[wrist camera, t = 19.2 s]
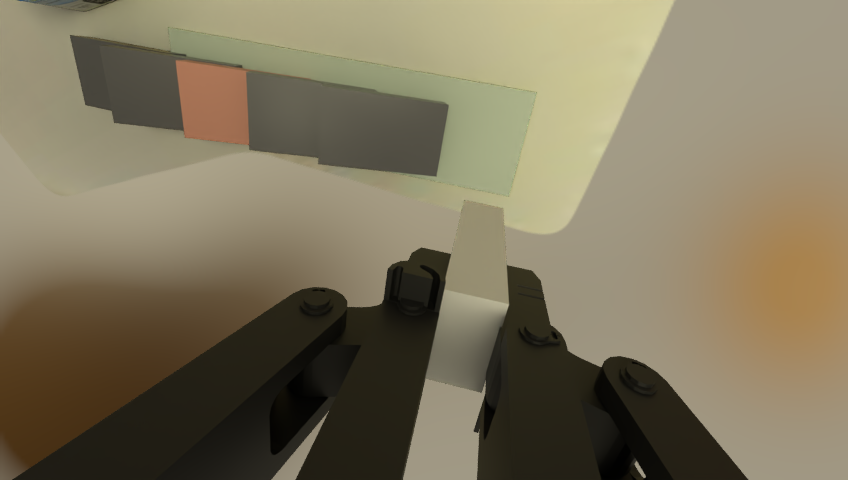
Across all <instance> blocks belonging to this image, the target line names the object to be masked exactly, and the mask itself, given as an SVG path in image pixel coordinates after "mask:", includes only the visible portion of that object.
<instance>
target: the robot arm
mask: <svg viewBox="0 0 848 480" xmlns="http://www.w3.org/2000/svg"><path fill="white" fill-rule="evenodd" d="M542 291H543V290H542V285H541V281H540V279H538V277H537V276H536V275H535V274H534V273H533V271H531V270H526V269H522V268H517V267H512V266H508V265H507V263H506V246H505V230H504V214H503V208H500V207H495V206H490V205H485V204H480V203H476V202H471V201H466V200H464V204H463V208H462V212H461V217H460V220H459V225H458V229H457V233H456V237H455V241H454V245H453V249H452V253H451V254H448V253H444V252H439V251H435V250H430V249H426V248H420V249H418V250H416V251H415V252H413V253H412V254H411V256H410V258H409V260H408V261H400V262H397V263H395V264H392V265H391V266H390V267H389V268H388V271H387V279H386V286H385V294H384V300H383V302H382V304H380V305H377V306H372V307H362V308H361V307H347V300H346V299H345V298H344V296H343V295H342V294H340V293H338V292H337V291H335V290H331V289H328V288H319V287H318V288H317V287H313V288H307V289H302V290H300V291H298V292H295V293H293V294H292V295H290V296H289V297H287V298H286V299H284V300H283V301H281V302H280V303H278V304H277V305H275V306H274V307H272V308H270V309H269V310H268V311H266V312H264V313H263V314H261V315H260V316H258V317H257V318H255V319H254V320H252V321H251V322H249V323H248V324H246V325H245V326H243V327H242V328H241V329H239V330H237V331H236V332H234V333H233V334H231V335H230V336H228V337H227V338H225V339H224V340H222V341H221V342H219V343H218V344H216V345H215V346H213V347H212V348H210V349H209V350H207V351H206V352H204V353H203V354H201V355H200V356H198V357H197V358H195V359H194V360H192V361H191V362H189V363H188V364H186V365H185V366H183V367H182V368H180V369H179V370H177V371H176V372H174V373H173V374H171V375H170V376H168V377H166V378H165V379H164V380H162V381H160V382H159V383H157V384H156V385H154V386H153V387H152V388H150V389H148V390H147V391H145V392H144V393H143V394H141V395H139V396H138V397H136V398H135V399H133V400H132V401H131V402H129V403H127V404H126V405H124V406H123V407H121V408H120V409H118V410H117V411H115V412H114V413H112V414H111V415H109V416H108V417H106V418H105V419H103V420H102V421H100V422H99V423H97V424H96V425H94V426H93V427H91V428H90V429H88V430H87V431H85V432H84V433H82V434H81V435H79V436H78V437H76V438H75V439H73V440H72V441H70V442H69V443H67V444H66V445H64V446H63V447H61V448H60V449H58V450H57V451H55V452H54V453H52V454H50V455H49V456H47V457H46V458H44V459H43V460H41V461H40V462H38V463H37V464H35V465H34V466H32V467H31V468H29V469H28V470H26V471H25V472H23V473H22V474H20V475H19V476H17V477H16V478H14V479H13V480H271V479H272V478H273V477H274V476H275V474H276V473H277V472H278V471H279V470H280V468H281V467H282V466H283V465H284V464H285V462H286V461H287V460H288V459H289V458H290V456H291V455H292V454H293V453H294V452H295V451H296V449H297V448H298V447H299V446H300V445H301V443H302V442H303V441H304V440H305V438H306V437H307V436H308V435H309V434H310V433H311V432H312V430H313V429H314V428H315V427H316V425H317V424H318V423H319V422H320V421H321V420H322V418H323V417H324V416H325V415H326V414H327V412H328V411H329V412H328V414H327V416H326V419H325V421H324V423H323V425H322V427H321V429H320V431H319V433H318V435H317V437H316V439H315V441H314V443H313V445H312V447H311V449H310V452H309V454H308V455H307V458H306V459H305V462H304V464H303V466H302V468H301V470H300V472H299V474H298V476H297V478H296V480H403V476H404V471H405V467H406V463H407V458H408V454H409V449H410V445H411V440H412V436H413V432H414V427H415V422H416V418H417V414H418V409H419V405H420V400H421V396H422V391H423V387H424V382H425V379H429V380H434V381H438V382H441V383H445V384H450V385H453V386H457V387H461V388H465V389H469V390H473V391H477V392H482V390H483V387H484V383H485V380H486V391H485V397H484V400H483V403H482V407H481V409H480V412H479V416H478V419H477V422H476V425H475V429H474V432H477V433H478V431H479V430H480V431H479V451H478V472H477V480H748V479H747V478H746V476H745V475H744V474H743V473H742V472H741V470H740V469H739V468H738V467H737V466H736V464H735V463H734V462H733V461H732V460H731V458H730V457H729V456H728V455H727V453H726V452H725V451H724V450H723V449H722V447H721V446H720V445H719V444H718V443H717V441H716V440H715V439H714V438H713V437H712V435H711V434H710V433H709V432H708V431H707V429H706V428H705V427H704V426H703V425H702V423H701V422H700V421H699V420H698V418H697V417H696V416H695V415H694V414H693V413H692V411H691V410H690V409H689V408H688V406H687V405H686V404H685V403H684V402H683V400H682V399H681V398H680V397H679V396H678V394H677V393H676V392H675V391H674V390H673V388H672V387H671V386H670V385H669V384H668V382H667V381H666V380H665V379H663V377H661V376H660V375H659V374H658V373H657V372H656V371H654V370H653V369H651V368H650V367H648V366H647V365H645V364H643V363H641V362H638V361H636V360H634V359H630V358H626V357H621V356H617V357H610V358H608V359H607V360H606V361H604V363H603V365H602V367H599V366H597V365H594V364H592V363H590V362H588V361H585V360H583V359H581V358H579V357H577V356H575V355H574V354H572V353H570V352H569V351H568V350H567V346H566V342H565V340H564V338H563V336H562V334H561V333H560V332H558V331H557V330H556V329H555V328H554V327H553V326H551V325H550V321H549V317H548V313H547V308H546V304H545V300H544V294H543V292H542ZM636 461H637V462H638V463H639V465H640V467H641V468H642V470H643V472H644V474H645V475H646V478H643V477H642V476H641V474H640V473H639V472H638V470H637V468H636V467H635V465H634V464H635V462H636Z"/></svg>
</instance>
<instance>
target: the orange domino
mask: <svg viewBox="0 0 848 480" xmlns="http://www.w3.org/2000/svg"><path fill="white" fill-rule="evenodd" d="M176 68H177V76H178V85H179V93H180V101H181V110H182V118H183V127H184V135H185V138H194V139H202V140H211V141H220V142H228V143H237V144H246V145H249V127H248V104H247V82H246V72H248V71H257V70H250V69H243V68H237V67H230V66H224V65H217V64H211V63H204V62H198V61H191V60H176ZM258 72H263V71H258ZM265 73H270V72H265ZM271 74H276V73H271ZM278 75H283V74H278ZM284 76H289V75H284ZM291 77H296V76H291ZM297 78H302V77H297ZM304 79H309V78H304ZM310 80H311V79H310Z"/></svg>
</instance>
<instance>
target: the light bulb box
mask: <svg viewBox="0 0 848 480" xmlns="http://www.w3.org/2000/svg"><path fill="white" fill-rule="evenodd" d="M19 1H25V2H31V3H37V4H43V5H49V6H55V7H61V8H67V9H73V10H79V11H88V10H90V9H93V8H96V7H99V6H101V5H104V4H107V3H109V2H112V1H115V0H19Z"/></svg>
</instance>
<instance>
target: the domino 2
mask: <svg viewBox="0 0 848 480" xmlns="http://www.w3.org/2000/svg"><path fill="white" fill-rule="evenodd" d="M99 47H100V53H101V58H102V63H103V68H104V73H105V78H106V83H107V88H108V93H109V98H110V103H111V109H112V114H113V119H114V123H120V124H129V125H138V126H147V127H156V128H165V129H174V130H183V131H184V127H183V118H182V110H181V101H180V93H179V85H178V76H177V68H176V60H191V61H198V62H204V63H211V64H217V65H224V66H230V67H237V68H242V65H239V64H232V63H226V62H219V61H213V60H206V59H200V58H193V57H186V56H180V55H173V54H167V53H160V52H154V51H147V50H140V49H134V48H127V47H121V46H114V45H99Z"/></svg>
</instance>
